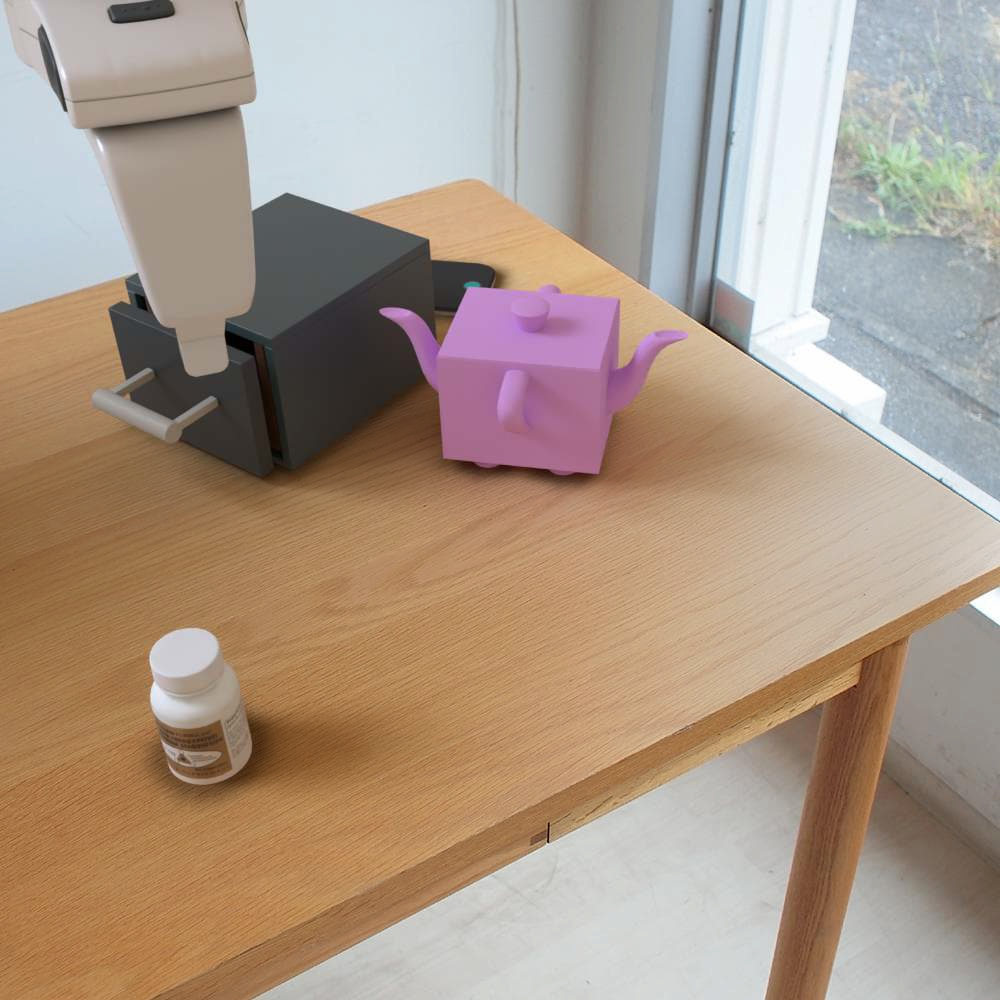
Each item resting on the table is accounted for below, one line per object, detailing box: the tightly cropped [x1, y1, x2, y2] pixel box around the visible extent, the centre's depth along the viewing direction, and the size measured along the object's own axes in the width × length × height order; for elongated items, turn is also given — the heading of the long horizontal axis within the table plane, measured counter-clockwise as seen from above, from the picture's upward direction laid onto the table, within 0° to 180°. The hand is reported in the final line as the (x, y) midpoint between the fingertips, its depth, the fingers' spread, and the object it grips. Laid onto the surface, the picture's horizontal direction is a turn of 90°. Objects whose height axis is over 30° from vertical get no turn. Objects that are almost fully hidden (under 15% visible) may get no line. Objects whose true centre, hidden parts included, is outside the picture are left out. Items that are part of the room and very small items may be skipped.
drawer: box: [91, 297, 282, 478], centre depth 90 cm, size 19×12×9 cm, turn 144°
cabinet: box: [124, 192, 438, 472], centre depth 93 cm, size 16×14×11 cm
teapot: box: [379, 284, 689, 476], centre depth 87 cm, size 15×13×11 cm
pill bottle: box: [149, 627, 253, 786], centre depth 67 cm, size 4×4×8 cm
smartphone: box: [431, 259, 497, 318], centre depth 106 cm, size 8×1×15 cm
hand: (186, 312), depth 59 cm, fingers open, 8 cm apart
